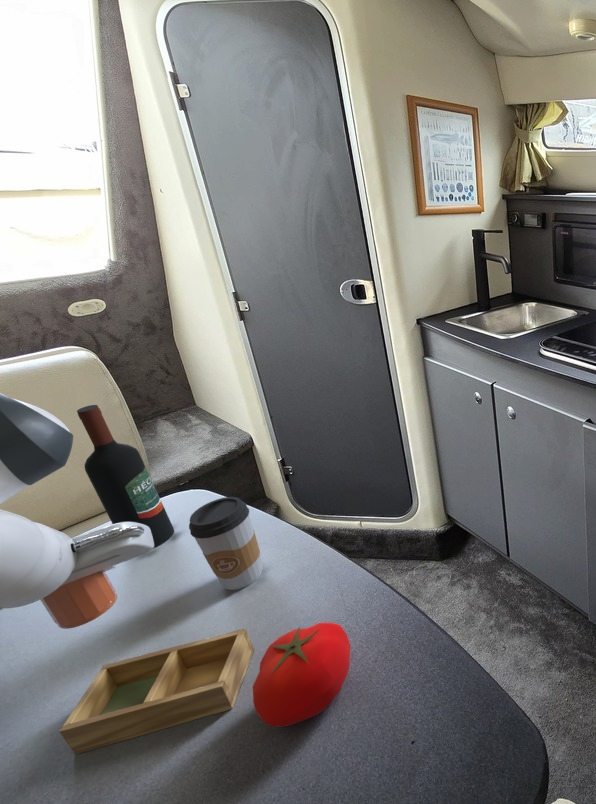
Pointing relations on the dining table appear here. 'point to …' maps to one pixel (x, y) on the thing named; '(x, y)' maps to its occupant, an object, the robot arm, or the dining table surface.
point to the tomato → (301, 674)
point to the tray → (159, 691)
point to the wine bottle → (122, 479)
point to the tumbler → (80, 600)
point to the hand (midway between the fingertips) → (71, 578)
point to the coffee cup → (228, 541)
